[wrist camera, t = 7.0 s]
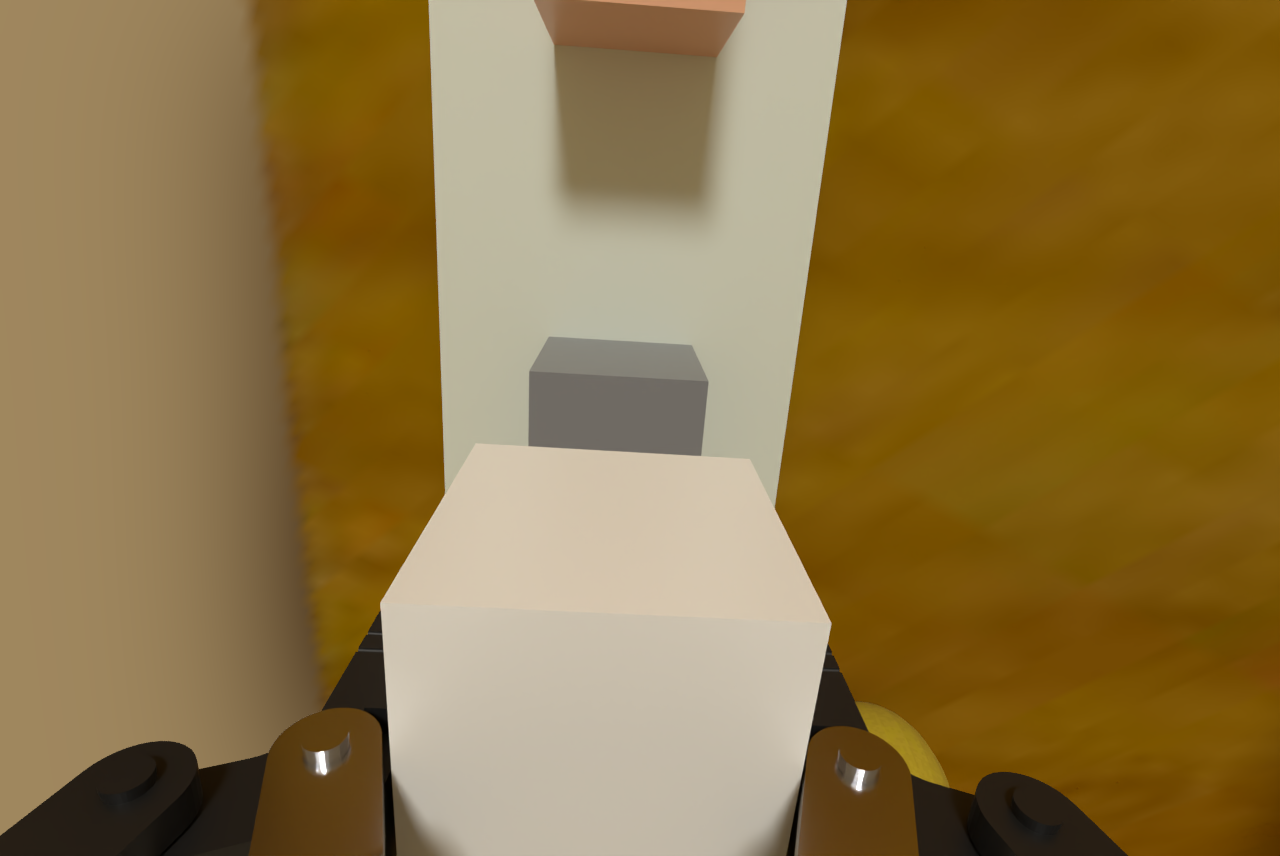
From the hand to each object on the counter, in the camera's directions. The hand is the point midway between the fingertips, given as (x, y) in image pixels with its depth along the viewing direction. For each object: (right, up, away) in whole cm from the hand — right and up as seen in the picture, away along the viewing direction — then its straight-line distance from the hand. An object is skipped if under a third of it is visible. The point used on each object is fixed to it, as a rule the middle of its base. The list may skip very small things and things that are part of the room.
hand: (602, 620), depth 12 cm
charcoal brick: (0, +3, +11) cm, 12 cm away
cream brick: (0, 0, 0) cm, 0 cm away
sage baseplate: (0, +11, +10) cm, 15 cm away
